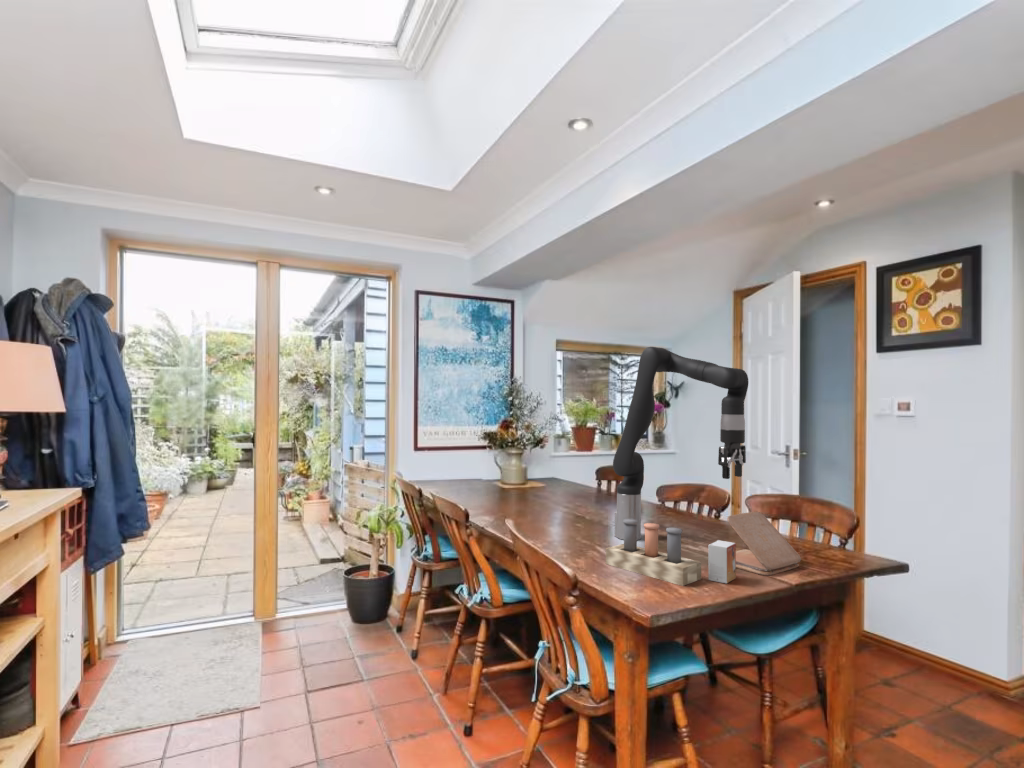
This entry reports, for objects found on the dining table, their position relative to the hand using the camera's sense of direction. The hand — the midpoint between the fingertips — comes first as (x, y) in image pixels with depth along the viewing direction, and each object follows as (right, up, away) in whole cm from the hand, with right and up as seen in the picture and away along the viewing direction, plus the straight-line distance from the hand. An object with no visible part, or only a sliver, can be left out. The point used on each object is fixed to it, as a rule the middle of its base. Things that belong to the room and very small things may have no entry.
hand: (732, 477), depth 181 cm
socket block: (-29, -27, -11) cm, 41 cm away
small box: (-10, -28, -17) cm, 34 cm away
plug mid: (-29, -23, -10) cm, 39 cm away
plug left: (-34, -23, -4) cm, 42 cm away
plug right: (-24, -23, -16) cm, 37 cm away
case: (+7, -29, -1) cm, 30 cm away
